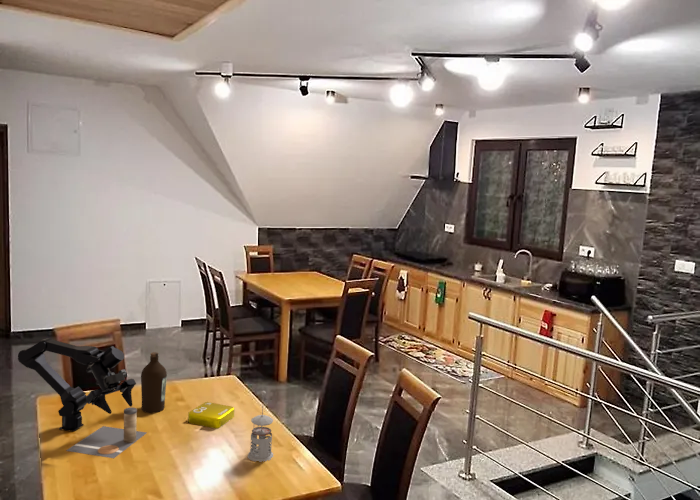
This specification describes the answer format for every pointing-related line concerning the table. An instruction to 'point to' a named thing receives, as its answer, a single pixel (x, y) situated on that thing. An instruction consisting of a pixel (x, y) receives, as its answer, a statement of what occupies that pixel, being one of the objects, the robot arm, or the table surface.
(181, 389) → the table surface
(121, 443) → the subfloor panel
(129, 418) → the beige cylindrical canister
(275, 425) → the table surface
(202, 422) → the element tile
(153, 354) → the olive oil
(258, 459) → the french press
